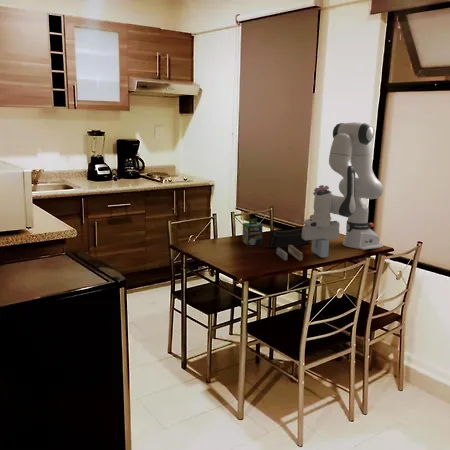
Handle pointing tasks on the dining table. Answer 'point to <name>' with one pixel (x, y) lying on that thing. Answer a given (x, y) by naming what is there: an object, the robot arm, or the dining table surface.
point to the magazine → (286, 238)
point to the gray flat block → (281, 253)
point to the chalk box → (252, 233)
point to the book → (321, 248)
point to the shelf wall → (295, 252)
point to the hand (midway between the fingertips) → (319, 247)
